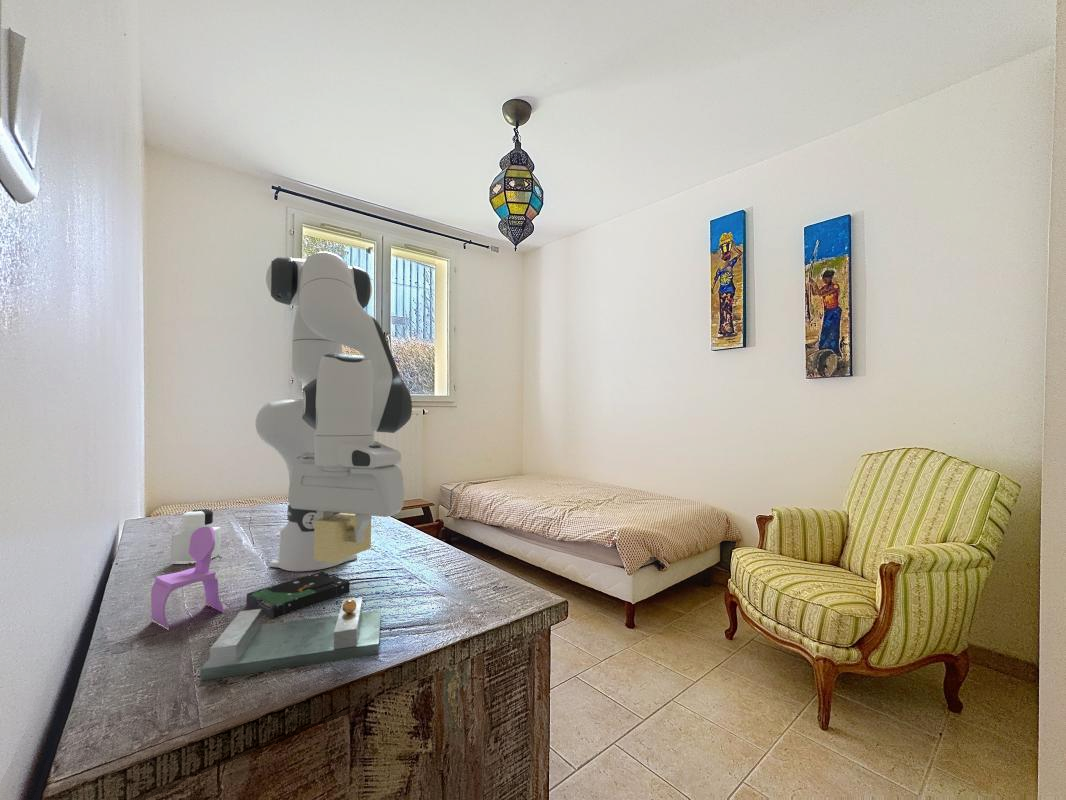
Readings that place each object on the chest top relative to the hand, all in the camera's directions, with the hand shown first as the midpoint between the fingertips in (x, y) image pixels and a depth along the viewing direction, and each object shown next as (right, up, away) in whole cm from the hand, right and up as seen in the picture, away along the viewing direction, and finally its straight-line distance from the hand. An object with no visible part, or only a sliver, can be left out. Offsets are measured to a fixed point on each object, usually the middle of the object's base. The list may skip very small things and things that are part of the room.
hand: (343, 540), depth 71 cm
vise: (-5, -15, -4) cm, 16 cm away
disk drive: (-14, -16, +14) cm, 26 cm away
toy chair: (-30, -16, +6) cm, 34 cm away
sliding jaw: (+2, -13, -2) cm, 13 cm away
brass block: (0, -2, 0) cm, 2 cm away
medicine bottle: (-52, -17, +38) cm, 67 cm away
